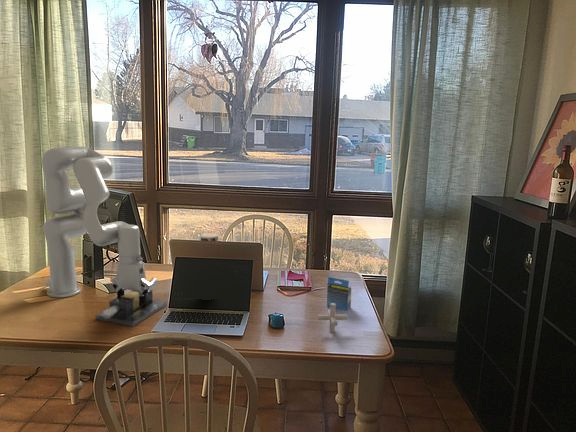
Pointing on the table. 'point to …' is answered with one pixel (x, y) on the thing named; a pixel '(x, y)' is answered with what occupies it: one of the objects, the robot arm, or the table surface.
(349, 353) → the table surface
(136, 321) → the shaft bench
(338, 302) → the label tape box
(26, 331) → the table surface
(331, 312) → the pipe connector
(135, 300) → the cream rectangular block
